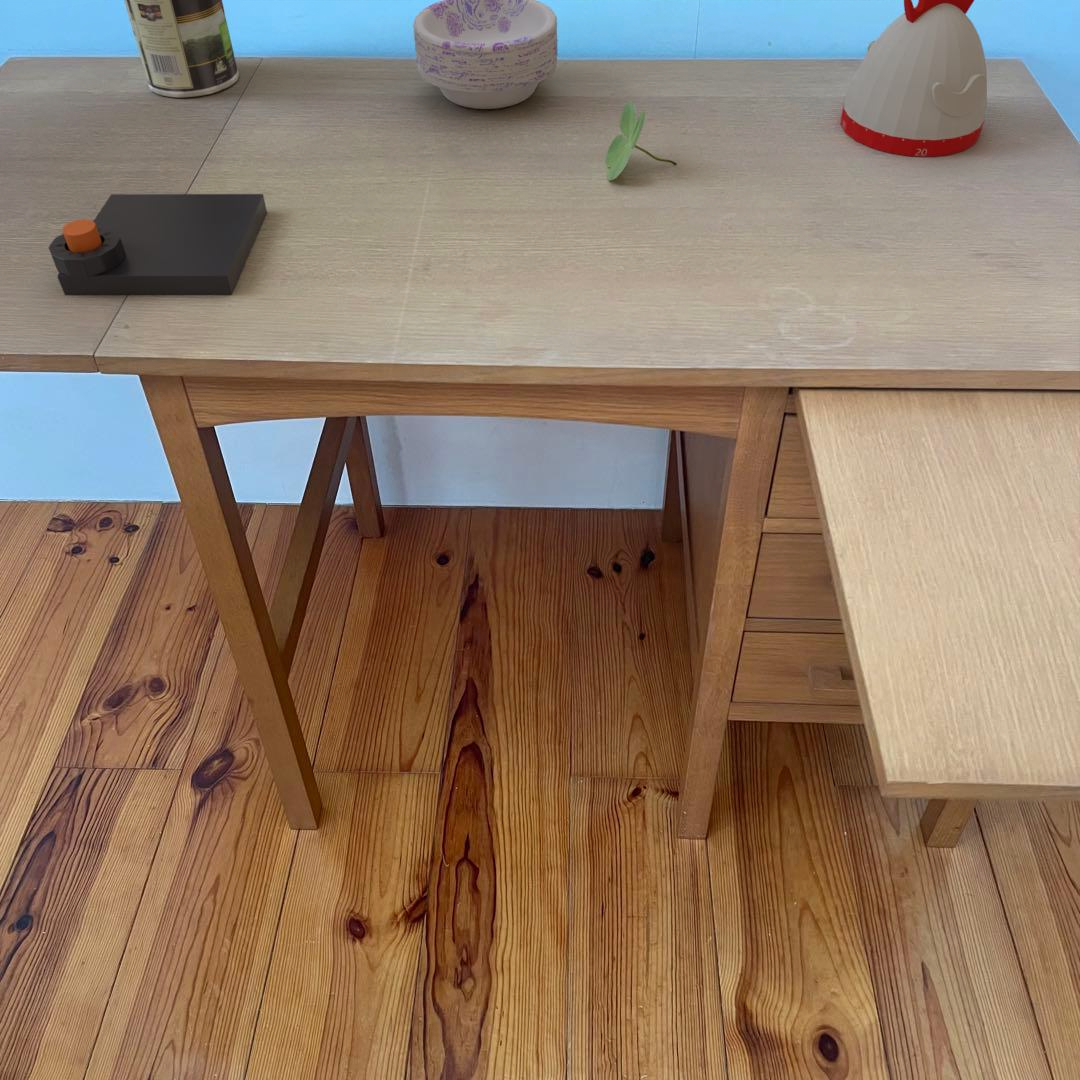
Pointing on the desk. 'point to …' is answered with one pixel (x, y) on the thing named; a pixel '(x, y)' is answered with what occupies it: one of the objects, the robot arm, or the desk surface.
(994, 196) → the desk surface
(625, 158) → the seedling
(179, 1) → the coffee can
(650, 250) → the desk surface
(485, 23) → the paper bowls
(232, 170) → the desk surface
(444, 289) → the desk surface
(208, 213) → the scale
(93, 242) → the button
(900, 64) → the kitchen timer
